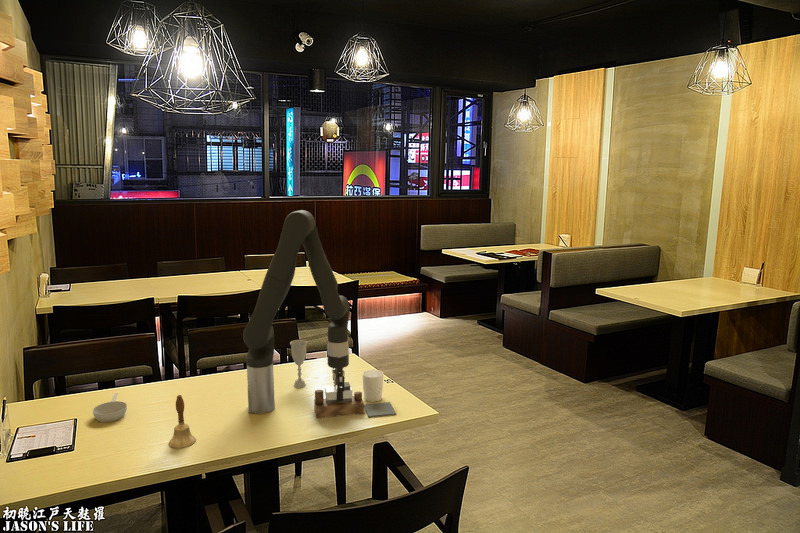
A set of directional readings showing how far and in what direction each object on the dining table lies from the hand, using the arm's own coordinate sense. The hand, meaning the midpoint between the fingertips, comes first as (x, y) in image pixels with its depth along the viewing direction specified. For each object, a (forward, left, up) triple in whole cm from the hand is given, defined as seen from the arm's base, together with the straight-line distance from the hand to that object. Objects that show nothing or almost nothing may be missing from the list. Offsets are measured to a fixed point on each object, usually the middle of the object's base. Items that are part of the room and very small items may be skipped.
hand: (338, 397), depth 208 cm
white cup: (+14, +9, -6) cm, 18 cm away
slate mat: (+15, -2, -6) cm, 16 cm away
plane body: (0, 0, -6) cm, 6 cm away
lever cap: (0, 0, 0) cm, 0 cm away
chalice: (-12, +28, -6) cm, 31 cm away
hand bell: (-52, -11, -6) cm, 53 cm away
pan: (-79, +18, -6) cm, 81 cm away
